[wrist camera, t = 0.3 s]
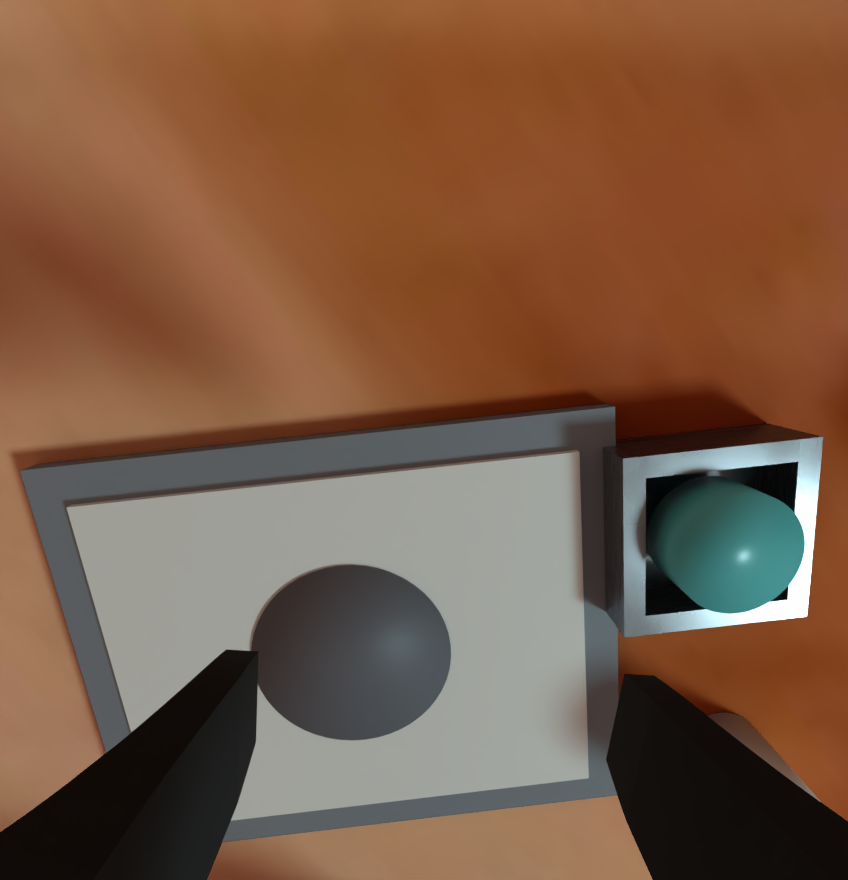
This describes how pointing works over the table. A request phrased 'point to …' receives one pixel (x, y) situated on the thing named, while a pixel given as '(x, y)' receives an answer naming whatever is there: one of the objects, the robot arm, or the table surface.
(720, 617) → the button housing
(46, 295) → the table surface
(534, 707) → the board
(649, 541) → the button
